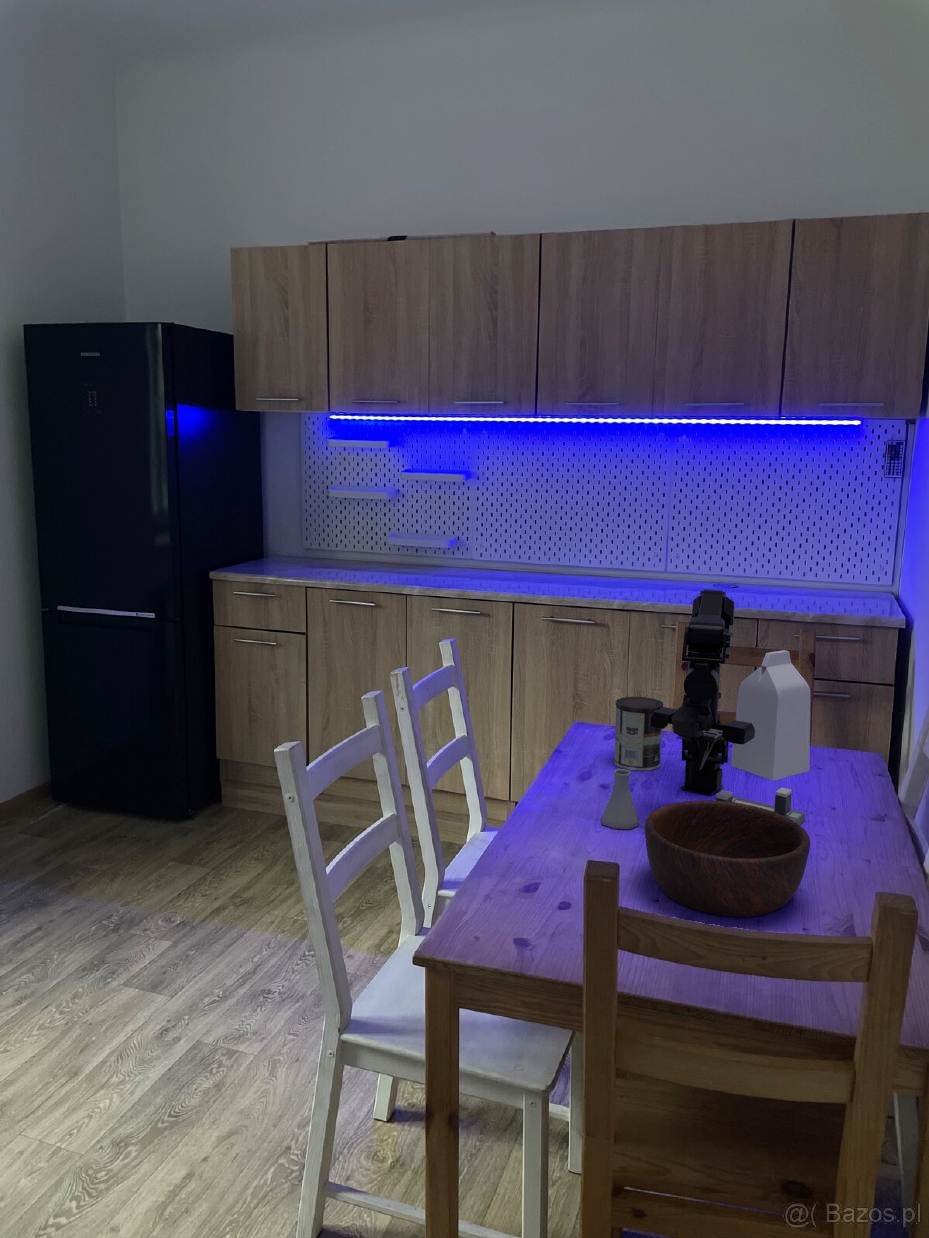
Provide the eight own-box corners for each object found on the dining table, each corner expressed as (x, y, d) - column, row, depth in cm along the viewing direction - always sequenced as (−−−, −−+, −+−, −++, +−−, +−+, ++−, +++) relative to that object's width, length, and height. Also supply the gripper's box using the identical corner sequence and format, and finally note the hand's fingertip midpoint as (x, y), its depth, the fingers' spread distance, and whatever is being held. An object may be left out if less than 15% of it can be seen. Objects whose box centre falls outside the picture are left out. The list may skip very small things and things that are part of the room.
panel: (679, 836, 173) (679, 828, 173) (728, 802, 190) (729, 794, 190) (760, 858, 164) (761, 849, 164) (804, 820, 181) (805, 812, 181)
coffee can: (655, 756, 219) (658, 696, 216) (664, 771, 209) (667, 708, 206) (610, 756, 219) (612, 695, 216) (616, 771, 209) (619, 707, 206)
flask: (644, 819, 181) (646, 768, 180) (633, 833, 175) (636, 780, 173) (606, 813, 184) (608, 763, 183) (595, 826, 178) (597, 774, 176)
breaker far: (774, 812, 181) (775, 791, 180) (780, 807, 183) (781, 787, 182) (784, 814, 180) (786, 794, 179) (790, 810, 182) (791, 789, 181)
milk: (772, 780, 204) (781, 660, 199) (730, 765, 213) (737, 650, 209) (809, 770, 210) (818, 654, 206) (766, 756, 220) (774, 644, 215)
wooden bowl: (819, 935, 139) (824, 867, 137) (642, 918, 143) (645, 853, 141) (792, 863, 163) (796, 805, 161) (641, 851, 167) (644, 794, 165)
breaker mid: (714, 814, 179) (716, 794, 178) (721, 810, 181) (722, 790, 181) (725, 817, 178) (726, 796, 177) (731, 812, 180) (732, 792, 179)
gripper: (637, 688, 178) (633, 769, 181) (734, 705, 167) (729, 791, 170) (664, 677, 187) (660, 755, 190) (758, 693, 176) (753, 775, 178)
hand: (698, 769), depth 182 cm, fingers closed
